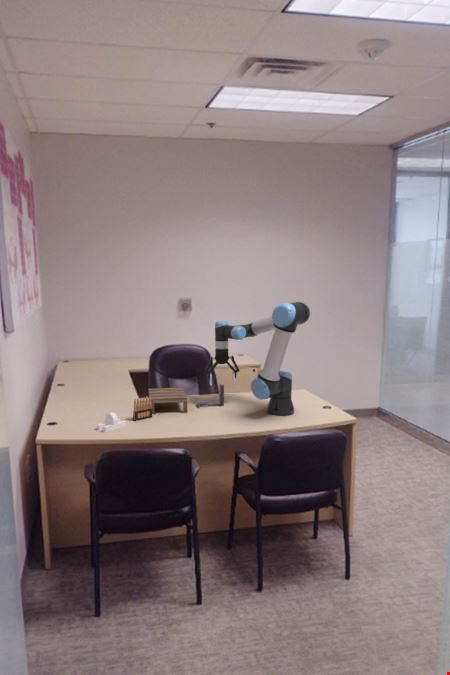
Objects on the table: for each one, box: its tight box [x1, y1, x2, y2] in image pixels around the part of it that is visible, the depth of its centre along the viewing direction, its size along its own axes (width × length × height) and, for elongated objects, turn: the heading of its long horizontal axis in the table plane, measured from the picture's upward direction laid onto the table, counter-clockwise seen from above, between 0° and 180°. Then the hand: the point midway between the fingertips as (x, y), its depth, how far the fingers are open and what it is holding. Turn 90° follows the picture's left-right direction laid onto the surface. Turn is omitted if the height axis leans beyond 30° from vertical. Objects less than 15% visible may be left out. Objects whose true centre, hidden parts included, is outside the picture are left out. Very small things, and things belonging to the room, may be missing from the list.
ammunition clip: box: [132, 395, 153, 422], centre depth 265 cm, size 11×2×12 cm, turn 129°
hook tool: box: [196, 383, 225, 409], centre depth 291 cm, size 7×15×12 cm, turn 101°
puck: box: [200, 404, 209, 408], centre depth 291 cm, size 5×5×1 cm
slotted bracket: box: [96, 411, 126, 433], centre depth 251 cm, size 13×7×8 cm, turn 140°
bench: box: [148, 387, 188, 415], centre depth 286 cm, size 24×20×8 cm
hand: (222, 384), depth 291 cm, fingers open, 13 cm apart
